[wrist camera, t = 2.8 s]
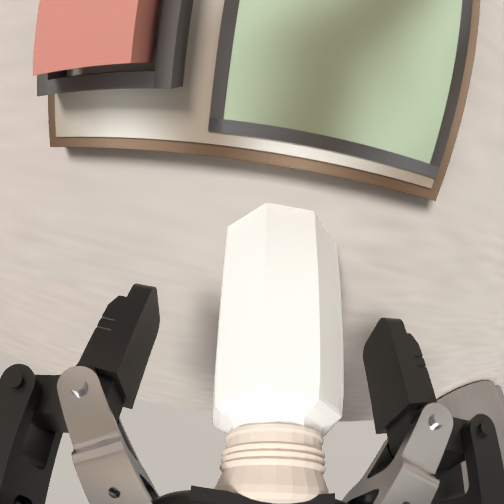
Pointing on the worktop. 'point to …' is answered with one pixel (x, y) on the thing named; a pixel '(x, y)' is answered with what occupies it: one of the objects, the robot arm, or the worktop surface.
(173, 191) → the worktop surface
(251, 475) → the pepper shaker
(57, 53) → the button
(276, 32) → the metal control panel
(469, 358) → the worktop surface
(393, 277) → the worktop surface
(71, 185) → the worktop surface
